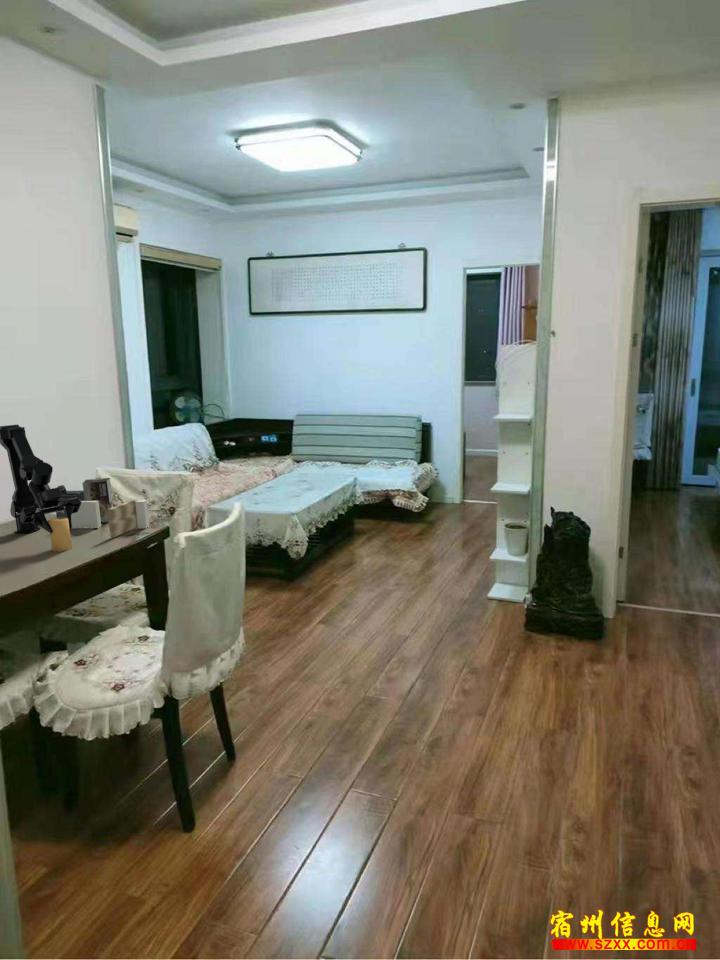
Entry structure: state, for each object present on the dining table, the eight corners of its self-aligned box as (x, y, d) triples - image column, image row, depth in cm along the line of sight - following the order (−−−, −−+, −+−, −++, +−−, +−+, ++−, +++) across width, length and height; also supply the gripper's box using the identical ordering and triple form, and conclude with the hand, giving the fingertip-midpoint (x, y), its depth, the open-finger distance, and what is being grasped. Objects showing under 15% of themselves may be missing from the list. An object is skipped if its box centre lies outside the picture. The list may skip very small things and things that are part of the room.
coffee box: (115, 517, 261) (110, 477, 258) (112, 522, 255) (107, 480, 251) (90, 519, 259) (85, 479, 256) (87, 524, 253) (82, 482, 250)
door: (135, 526, 246) (132, 499, 244) (139, 526, 246) (136, 499, 244) (110, 537, 233) (107, 509, 231) (114, 537, 232) (111, 509, 230)
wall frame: (149, 526, 246) (146, 500, 244) (146, 528, 244) (143, 501, 242) (71, 526, 250) (68, 500, 248) (68, 528, 247) (64, 502, 245)
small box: (90, 515, 267) (87, 489, 265) (81, 519, 260) (78, 493, 258) (65, 515, 268) (61, 490, 266) (56, 519, 261) (52, 493, 259)
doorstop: (48, 551, 220) (44, 521, 218) (59, 545, 225) (56, 517, 223) (64, 551, 218) (60, 522, 216) (75, 546, 224) (72, 517, 222)
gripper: (18, 483, 213) (37, 522, 208) (75, 474, 227) (94, 510, 221) (12, 504, 220) (30, 542, 215) (67, 493, 233) (86, 529, 228)
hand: (61, 530), depth 220 cm, fingers closed on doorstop, 6 cm apart
